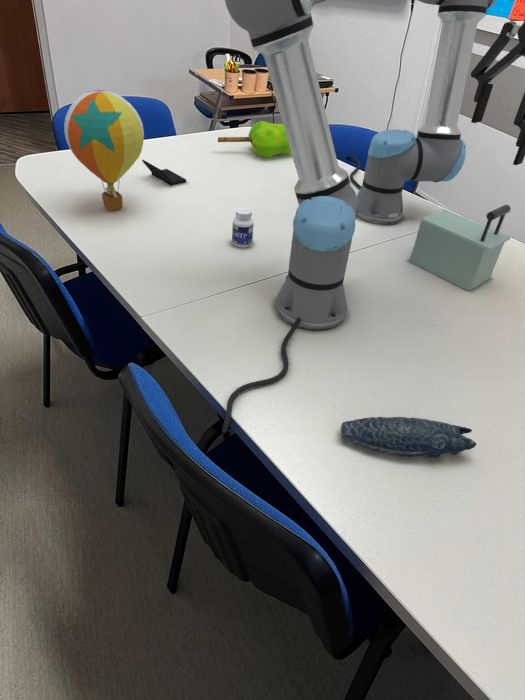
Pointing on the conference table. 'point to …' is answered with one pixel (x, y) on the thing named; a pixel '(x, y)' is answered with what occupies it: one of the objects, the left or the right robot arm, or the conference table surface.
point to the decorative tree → (264, 139)
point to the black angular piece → (165, 175)
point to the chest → (453, 257)
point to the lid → (471, 227)
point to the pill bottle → (242, 228)
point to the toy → (105, 138)
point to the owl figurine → (407, 436)
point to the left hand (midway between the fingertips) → (509, 131)
